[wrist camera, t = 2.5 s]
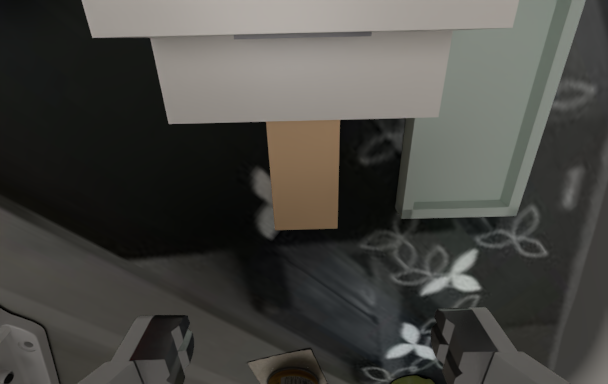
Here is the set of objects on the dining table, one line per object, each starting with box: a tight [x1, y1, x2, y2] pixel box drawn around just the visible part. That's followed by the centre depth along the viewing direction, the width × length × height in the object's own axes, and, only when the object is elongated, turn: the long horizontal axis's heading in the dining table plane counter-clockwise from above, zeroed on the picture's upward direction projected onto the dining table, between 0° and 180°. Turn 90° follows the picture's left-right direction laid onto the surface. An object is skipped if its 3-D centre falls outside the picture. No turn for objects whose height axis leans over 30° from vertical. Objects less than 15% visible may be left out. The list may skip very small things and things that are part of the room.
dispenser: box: [82, 0, 519, 124], centre depth 15 cm, size 14×10×11 cm
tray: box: [395, 0, 586, 219], centre depth 22 cm, size 16×9×2 cm, turn 1°
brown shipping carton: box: [266, 120, 340, 230], centre depth 22 cm, size 12×4×4 cm, turn 2°
